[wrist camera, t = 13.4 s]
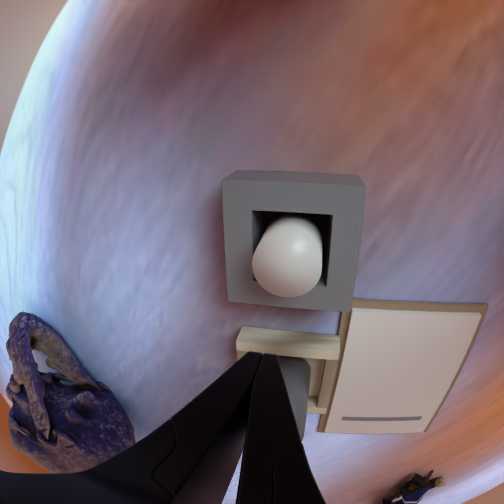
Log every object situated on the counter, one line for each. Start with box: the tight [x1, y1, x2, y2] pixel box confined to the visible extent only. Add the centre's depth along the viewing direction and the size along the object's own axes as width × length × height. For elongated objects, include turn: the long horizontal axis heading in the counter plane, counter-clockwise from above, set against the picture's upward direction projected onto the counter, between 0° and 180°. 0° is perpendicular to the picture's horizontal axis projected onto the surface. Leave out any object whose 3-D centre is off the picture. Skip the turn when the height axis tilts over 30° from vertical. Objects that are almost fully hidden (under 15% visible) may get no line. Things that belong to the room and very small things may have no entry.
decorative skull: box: [6, 312, 136, 474], centre depth 27 cm, size 12×18×20 cm
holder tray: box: [236, 326, 340, 414], centre depth 22 cm, size 7×7×2 cm
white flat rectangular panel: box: [318, 298, 488, 434], centre depth 22 cm, size 11×15×1 cm
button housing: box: [222, 171, 366, 312], centre depth 17 cm, size 7×7×3 cm
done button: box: [252, 214, 322, 297], centre depth 16 cm, size 3×3×3 cm
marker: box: [277, 355, 311, 440], centre depth 19 cm, size 3×3×7 cm
